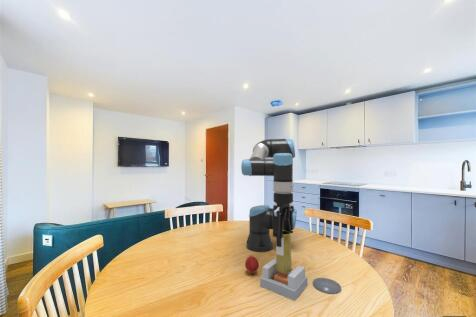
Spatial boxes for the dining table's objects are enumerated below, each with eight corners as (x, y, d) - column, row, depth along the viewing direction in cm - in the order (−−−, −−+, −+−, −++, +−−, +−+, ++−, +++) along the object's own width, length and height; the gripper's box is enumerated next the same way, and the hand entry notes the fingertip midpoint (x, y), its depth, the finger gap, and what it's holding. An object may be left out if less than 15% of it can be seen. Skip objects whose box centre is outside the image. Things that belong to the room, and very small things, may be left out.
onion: (244, 270, 92) (244, 252, 92) (257, 269, 92) (257, 251, 93) (246, 277, 86) (246, 257, 86) (259, 276, 87) (259, 257, 87)
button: (273, 285, 79) (273, 275, 80) (280, 279, 84) (280, 270, 84) (287, 290, 76) (287, 280, 76) (293, 284, 80) (293, 274, 81)
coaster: (309, 287, 79) (309, 285, 79) (317, 276, 87) (317, 275, 87) (337, 297, 73) (337, 295, 73) (343, 285, 80) (343, 283, 80)
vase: (294, 272, 79) (294, 234, 79) (280, 274, 77) (280, 235, 77) (286, 264, 84) (286, 229, 85) (273, 266, 83) (272, 230, 83)
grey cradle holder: (260, 286, 80) (260, 267, 80) (275, 273, 89) (275, 257, 89) (294, 300, 71) (294, 279, 71) (307, 285, 80) (307, 266, 81)
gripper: (281, 195, 72) (281, 263, 71) (301, 190, 87) (301, 247, 86) (262, 194, 77) (262, 257, 76) (284, 189, 91) (285, 242, 90)
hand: (283, 251), depth 81 cm, fingers closed on vase, 5 cm apart
